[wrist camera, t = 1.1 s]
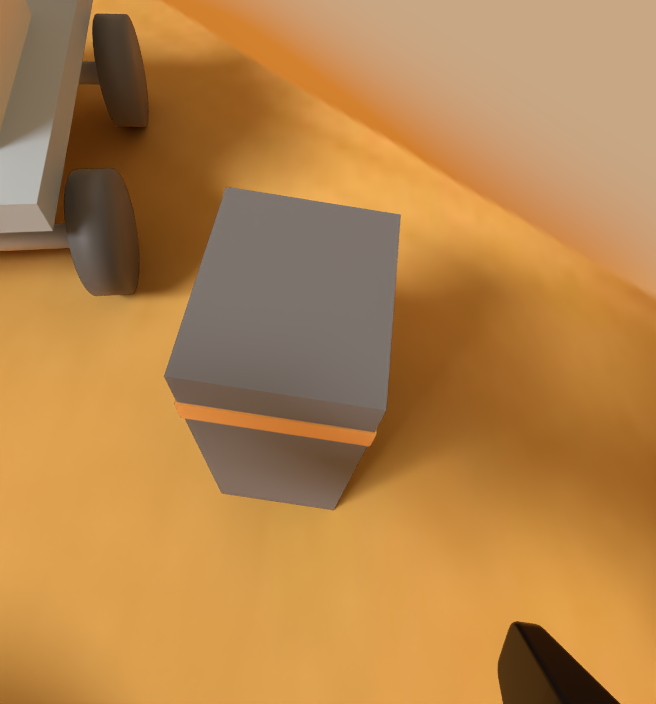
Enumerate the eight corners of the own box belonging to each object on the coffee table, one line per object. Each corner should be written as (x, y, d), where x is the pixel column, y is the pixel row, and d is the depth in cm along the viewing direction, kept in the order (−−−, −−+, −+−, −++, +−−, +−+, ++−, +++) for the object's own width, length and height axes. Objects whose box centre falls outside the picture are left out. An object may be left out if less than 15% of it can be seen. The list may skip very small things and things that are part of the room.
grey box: (334, 511, 21) (388, 412, 11) (220, 494, 21) (161, 377, 11) (354, 337, 26) (407, 145, 15) (260, 322, 25) (246, 119, 15)
